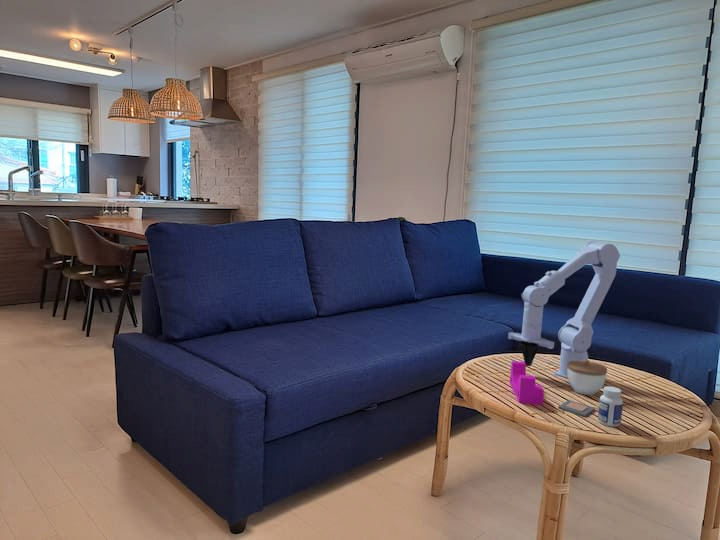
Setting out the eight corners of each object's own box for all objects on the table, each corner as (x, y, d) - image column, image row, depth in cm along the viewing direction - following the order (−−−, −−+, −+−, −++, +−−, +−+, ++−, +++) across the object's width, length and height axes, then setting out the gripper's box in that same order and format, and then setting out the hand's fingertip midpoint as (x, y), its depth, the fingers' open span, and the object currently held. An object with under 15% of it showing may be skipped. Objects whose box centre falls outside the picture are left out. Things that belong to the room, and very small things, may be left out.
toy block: (542, 406, 138) (544, 379, 137) (518, 404, 139) (521, 377, 138) (530, 386, 153) (533, 362, 152) (509, 384, 154) (511, 361, 153)
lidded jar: (557, 386, 154) (560, 356, 152) (584, 383, 157) (587, 354, 156) (584, 399, 144) (587, 367, 142) (612, 396, 148) (616, 365, 146)
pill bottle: (618, 420, 130) (622, 387, 129) (622, 428, 125) (626, 394, 124) (596, 416, 132) (599, 384, 131) (598, 424, 127) (602, 390, 126)
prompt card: (568, 402, 141) (569, 399, 141) (594, 410, 137) (594, 407, 136) (558, 408, 136) (558, 405, 136) (584, 417, 132) (584, 414, 131)
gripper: (505, 321, 163) (501, 361, 165) (548, 330, 153) (544, 373, 155) (515, 318, 168) (512, 357, 170) (558, 327, 158) (554, 369, 160)
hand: (528, 365), depth 163 cm, fingers closed
